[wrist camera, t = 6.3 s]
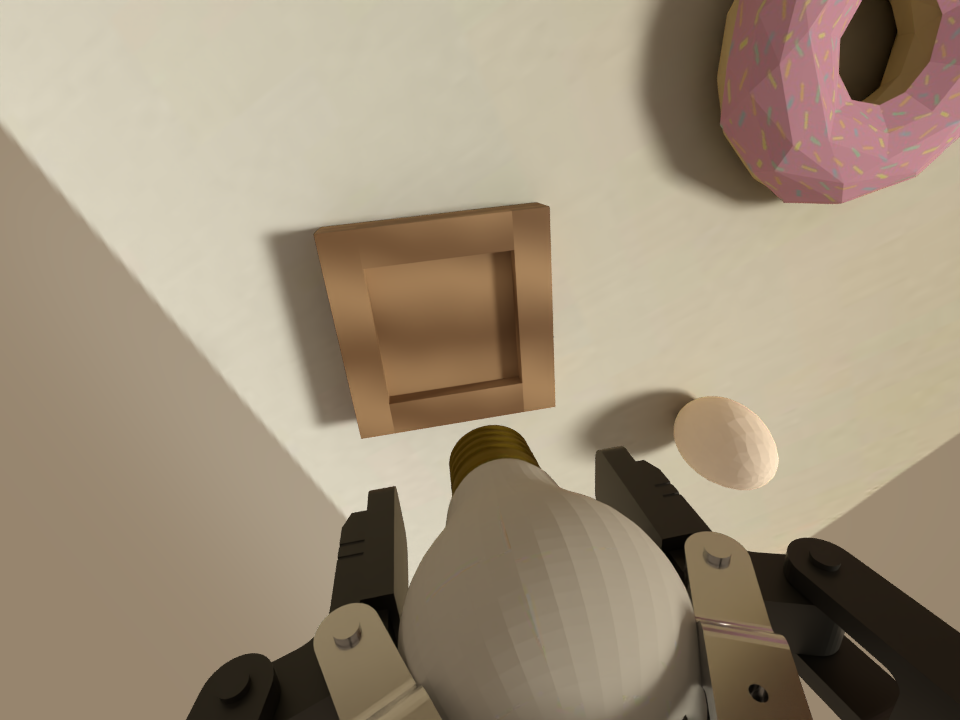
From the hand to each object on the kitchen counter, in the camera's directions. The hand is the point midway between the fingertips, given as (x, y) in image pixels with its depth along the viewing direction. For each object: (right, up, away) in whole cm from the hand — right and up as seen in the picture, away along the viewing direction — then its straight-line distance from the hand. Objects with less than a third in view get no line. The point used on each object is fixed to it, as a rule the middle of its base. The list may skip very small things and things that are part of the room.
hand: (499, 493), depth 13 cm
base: (-3, +6, +15) cm, 17 cm away
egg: (+15, 0, +21) cm, 26 cm away
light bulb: (0, +1, +3) cm, 3 cm away
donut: (+19, +21, +13) cm, 31 cm away
